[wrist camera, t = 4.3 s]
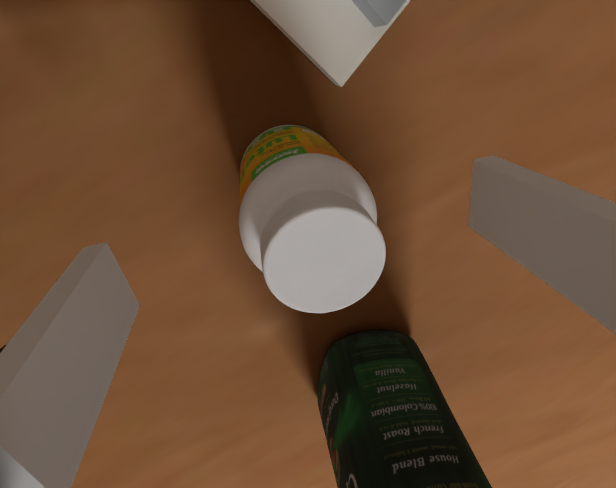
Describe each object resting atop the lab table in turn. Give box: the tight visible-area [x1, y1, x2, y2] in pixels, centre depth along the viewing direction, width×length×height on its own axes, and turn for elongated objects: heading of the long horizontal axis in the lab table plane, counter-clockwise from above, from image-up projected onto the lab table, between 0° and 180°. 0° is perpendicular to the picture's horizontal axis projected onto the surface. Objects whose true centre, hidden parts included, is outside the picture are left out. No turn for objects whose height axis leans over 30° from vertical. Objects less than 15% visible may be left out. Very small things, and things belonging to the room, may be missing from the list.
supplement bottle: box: [239, 125, 386, 313], centre depth 15 cm, size 5×5×10 cm
